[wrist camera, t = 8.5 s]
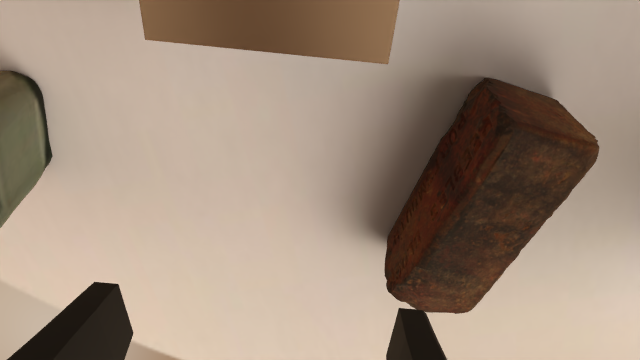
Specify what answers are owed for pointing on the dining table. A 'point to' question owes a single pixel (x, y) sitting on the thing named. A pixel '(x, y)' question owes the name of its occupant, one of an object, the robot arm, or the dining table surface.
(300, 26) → the walnut cube
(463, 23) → the dining table surface
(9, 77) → the tan tapered stone
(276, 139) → the dining table surface
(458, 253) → the brick
